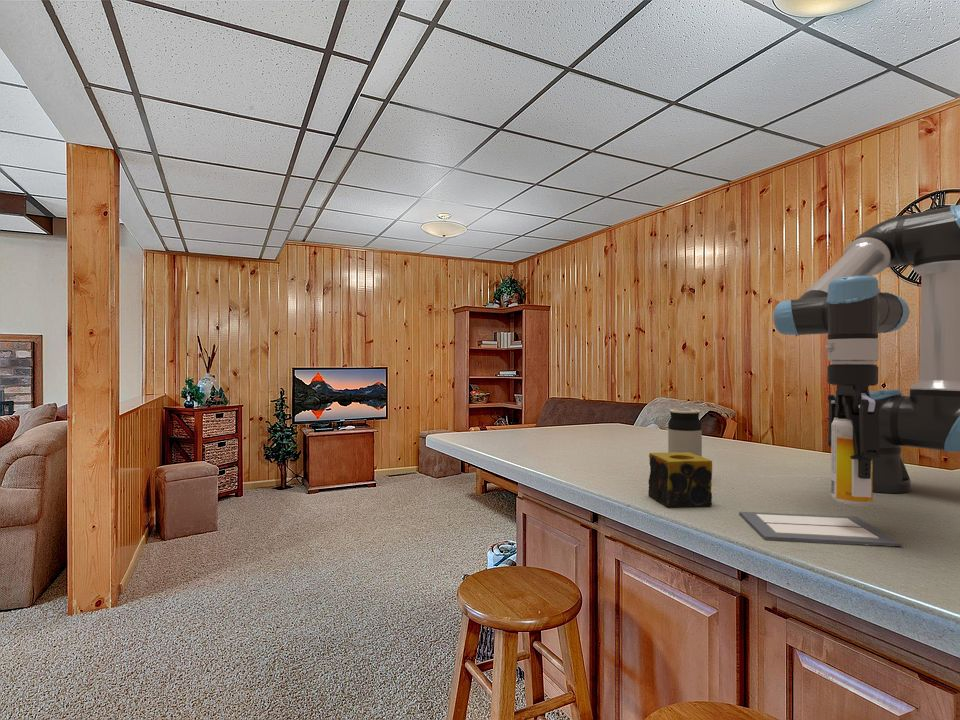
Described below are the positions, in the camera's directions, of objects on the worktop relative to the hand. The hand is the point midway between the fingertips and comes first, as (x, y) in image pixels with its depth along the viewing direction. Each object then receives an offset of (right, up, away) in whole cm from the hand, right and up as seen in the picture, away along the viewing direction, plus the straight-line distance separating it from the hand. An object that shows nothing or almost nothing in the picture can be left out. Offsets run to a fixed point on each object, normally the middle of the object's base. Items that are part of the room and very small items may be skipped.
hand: (852, 491), depth 96 cm
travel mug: (-14, -7, +41) cm, 44 cm away
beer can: (0, -2, 0) cm, 2 cm away
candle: (-23, -8, +21) cm, 32 cm away
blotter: (-6, -7, +1) cm, 10 cm away
